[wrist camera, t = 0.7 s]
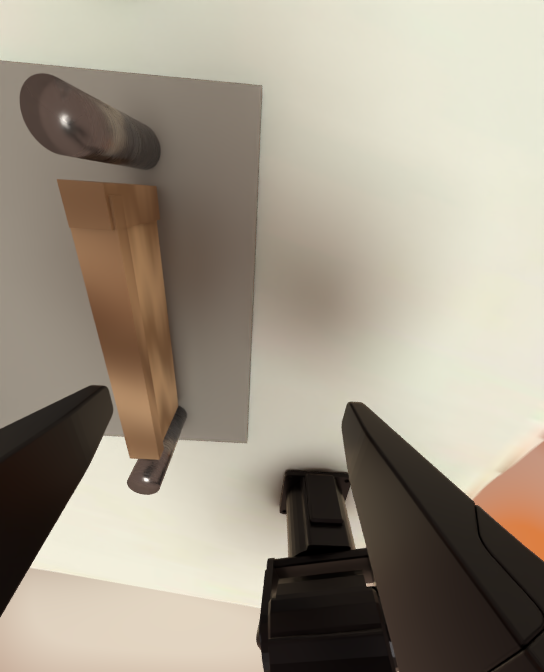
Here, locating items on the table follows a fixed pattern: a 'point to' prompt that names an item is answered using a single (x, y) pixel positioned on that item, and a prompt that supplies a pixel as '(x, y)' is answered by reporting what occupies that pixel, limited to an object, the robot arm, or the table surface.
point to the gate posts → (108, 147)
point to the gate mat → (174, 239)
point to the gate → (127, 302)
